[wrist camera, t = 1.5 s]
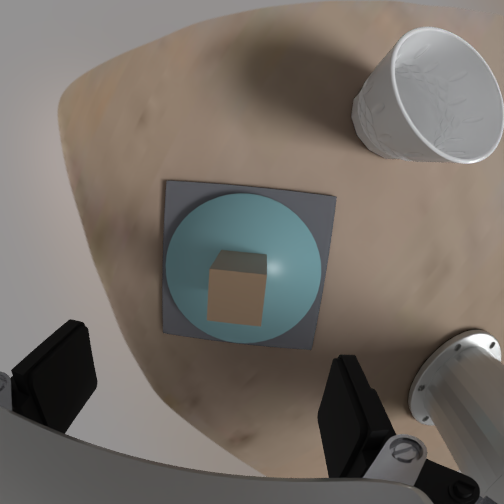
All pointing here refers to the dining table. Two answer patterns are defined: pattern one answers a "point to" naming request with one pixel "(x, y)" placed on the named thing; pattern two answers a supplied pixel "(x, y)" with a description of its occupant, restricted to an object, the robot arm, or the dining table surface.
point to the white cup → (430, 101)
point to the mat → (302, 204)
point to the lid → (243, 268)
